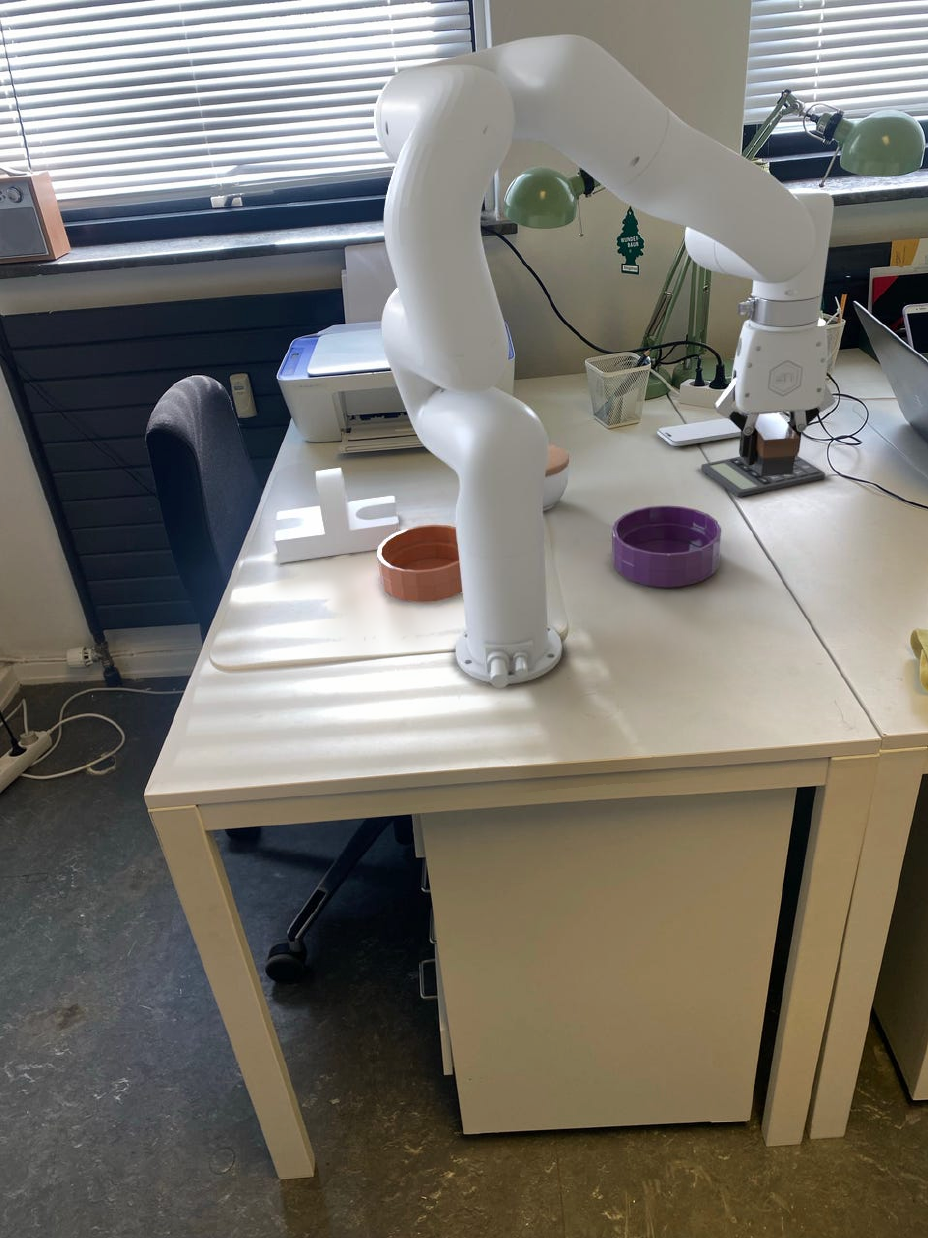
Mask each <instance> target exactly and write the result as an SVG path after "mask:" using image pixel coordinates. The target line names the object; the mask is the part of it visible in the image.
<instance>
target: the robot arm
mask: <svg viewBox="0 0 928 1238" xmlns="http://www.w3.org/2000/svg"><path fill="white" fill-rule="evenodd" d="M373 119H374V120H373V124H374V133H375V135H376V139H377V141H378V144H379V146H380V148H381V149H382V151H383V152H384V153H385V155H386V156H387V158H388V159H389V160H391V161H392V163H394V164H395V165H394V169H393V172H392V175H391V179H390V181H389V185H388V189H387V193H386V198H385V202H384V209H383V210H384V211H383V235H384V242H385V248H386V251H387V256H388V259H389V264H390V266H391V270H392V273H393V275H394V276H393V277H394V280H395V284H396V288H395V290H393V292H392V293H391V294H390V296H389V297H388V299H387V301H386V303H385V305H384V307H383V311H382V316H381V321H380V333H381V334H380V335H381V341H382V347H383V351H384V353H385V356H386V359H387V362H388V365H389V367H390V370H391V373H392V376H393V378H394V382H395V384H396V386H397V389H398V392H399V395H400V397H401V400H402V403H403V406H404V409H405V411H406V413H407V416H408V418H409V421H410V423H411V426H412V428H413V430H414V432H415V434H416V435H417V437H418V439H419V441H420V442H421V444H422V445H423V446H424V448H425V449H427V450H428V451H429V452H430V453H431V454H433V455H434V456H435V457H436V458H438V459H439V460H440V461H442V462H443V463H444V464H446V465H447V466H448V467H449V468H450V469H452V470H453V471H454V472H455V473H456V475H457V476H458V480H459V481H458V482H459V489H458V490H459V492H458V497H457V500H456V505H455V515H454V519H455V520H454V521H455V527H456V536H457V543H458V552H459V562H460V572H461V581H462V591H463V592H462V599H463V601H462V602H463V610H464V619H465V630H466V631H465V632H463V634H462V635H460V637H459V638H458V640H457V641H456V645H455V658H456V662H457V664H458V666H459V667H460V669H461V670H462V671H463V672H464V673H466V674H467V675H468V676H470V677H472V678H474V679H477V680H479V681H482V682H486V683H490V684H491V685H492V687H493V688H496V689H504V688H506V687H507V685H510V684H520V683H525V682H529V681H532V680H534V679H537V678H540V677H541V676H543V675H545V674H547V673H548V672H550V671H552V669H554V668H555V666H556V665H557V664H558V663H559V662H560V659H561V657H562V652H563V645H562V639H561V637H560V635H559V633H558V632H557V631H556V630H555V629H554V628H553V627H551V626H550V625H549V624H548V601H547V600H548V599H547V580H546V578H547V577H546V557H545V556H546V555H545V533H544V511H543V488H544V479H545V473H546V468H547V461H548V452H549V447H548V445H549V439H548V435H547V431H546V429H545V426H544V424H543V422H542V421H541V419H540V417H539V416H538V415H537V414H536V413H535V412H534V411H533V409H532V408H531V407H529V406H528V405H527V404H525V403H524V402H523V401H521V400H520V399H518V398H516V397H514V396H513V395H511V394H508V393H506V392H505V391H503V390H501V389H499V388H497V387H495V385H496V384H498V383H499V382H500V380H501V379H502V378H503V376H504V374H505V372H506V370H507V367H508V364H509V360H510V343H509V342H510V340H509V336H508V330H507V328H506V323H505V320H504V317H503V313H502V309H501V306H500V303H499V300H498V296H497V292H496V289H495V286H494V283H493V279H492V275H491V271H490V268H489V264H488V261H487V257H486V253H485V248H484V242H483V237H482V231H481V216H482V208H483V204H484V201H485V198H486V194H487V192H488V189H489V186H490V184H491V183H492V180H493V178H494V176H495V175H496V173H497V171H498V170H499V168H500V167H501V165H502V163H503V162H504V160H505V158H506V157H507V154H508V152H509V150H510V147H511V146H512V145H513V144H515V143H518V142H523V141H525V142H536V143H537V142H538V143H546V144H547V145H549V146H551V147H553V148H554V149H556V150H557V151H558V152H560V153H561V154H563V155H564V156H565V158H567V159H569V161H571V162H573V163H574V164H575V165H576V166H578V167H579V168H580V169H582V170H583V171H584V172H585V173H587V174H588V175H589V176H590V177H592V178H593V179H594V180H595V181H597V182H598V183H599V184H600V185H602V186H603V187H604V188H605V189H607V190H608V191H609V192H610V193H612V194H613V195H614V196H616V197H617V198H618V199H619V200H620V201H621V202H623V203H625V204H627V205H628V206H629V207H632V208H634V209H636V210H638V211H640V212H642V213H644V214H647V215H649V216H652V217H653V218H657V219H660V220H664V221H666V222H670V223H673V224H676V225H680V226H683V227H685V232H684V244H685V249H686V252H687V254H688V255H689V257H690V258H691V260H692V261H693V262H694V263H696V265H698V266H700V267H702V268H704V269H706V270H708V271H711V272H714V273H720V274H723V275H728V276H734V277H739V278H743V279H748V280H752V281H753V282H752V293H750V294H749V297H748V300H746V301H745V302H738V307H737V314H738V315H739V316H742V315H745V316H747V317H748V318H749V319H748V320H744V322H743V325H742V328H741V331H740V334H739V339H738V342H737V346H736V350H735V356H734V361H733V366H732V372H731V380H730V384H729V385H728V386H727V387H726V389H725V390H724V391H723V393H722V394H721V396H720V397H719V398H718V399H717V401H716V402H715V403H714V407H713V408H714V410H715V411H716V412H717V413H718V414H719V415H721V416H722V417H723V418H727V419H729V420H731V421H732V422H733V423H734V424H735V425H736V426H737V427H738V428H739V429H740V430H741V435H740V436H739V446H738V447H739V448H738V454H739V457H740V456H741V457H743V459H744V460H745V462H746V463H747V465H748V466H752V465H753V464H754V463H755V454H756V443H757V435H756V434H755V429H754V428H755V425H756V422H757V419H758V416H759V414H769V413H787V412H788V417H789V421H788V422H787V423H788V424H789V425H790V427H791V428H792V429H793V430H794V431H795V433H796V434H797V435H798V436H799V437H800V441H799V449H798V454H799V453H800V448H801V440H802V435H803V434H802V433H803V432H804V431H806V430H807V427H808V425H809V424H810V423H811V422H812V421H813V420H815V419H816V418H817V417H819V415H820V413H823V412H824V411H826V410H827V409H829V408H830V407H832V406H833V405H834V404H835V403H836V399H835V397H834V395H833V393H832V391H831V390H830V388H829V387H828V385H827V371H828V370H827V369H828V329H827V327H828V326H827V322H826V320H824V319H822V318H821V317H820V314H821V307H822V299H823V292H824V284H825V277H826V269H827V261H828V254H829V246H830V238H831V232H832V224H833V218H834V210H835V209H834V208H835V204H834V203H835V202H834V199H833V196H832V195H831V194H830V193H829V192H827V191H825V190H822V189H817V188H791V189H788V188H787V187H786V186H785V185H784V184H783V183H782V182H781V181H779V180H778V179H777V178H776V176H774V175H772V173H770V172H769V171H767V170H766V169H764V168H763V167H761V166H759V165H758V164H756V163H754V162H753V161H751V160H750V159H748V158H746V157H744V156H743V155H741V154H739V153H737V152H736V151H734V150H733V149H730V148H729V147H727V146H725V145H723V144H722V143H721V142H719V141H717V140H716V139H714V138H712V137H710V136H709V135H707V134H705V133H703V132H702V131H699V130H698V129H696V128H694V127H692V126H690V125H688V124H687V123H686V122H685V121H683V120H682V119H681V118H679V117H678V115H676V114H675V113H674V112H673V111H672V110H671V109H669V107H667V105H665V103H663V102H662V101H661V100H660V99H659V98H658V97H656V96H655V94H653V93H652V92H651V91H650V90H649V89H648V88H647V87H646V86H645V85H643V83H642V82H640V81H639V80H638V79H637V78H636V77H635V76H634V75H633V74H632V73H631V72H630V71H629V70H627V68H626V67H624V66H623V65H622V64H621V62H619V61H617V59H616V58H615V57H614V56H612V55H611V54H610V53H609V52H608V51H606V49H604V48H603V47H602V46H600V44H598V43H597V42H596V41H593V40H592V39H590V38H589V37H586V36H582V35H579V34H569V33H567V34H566V33H565V34H555V35H544V36H533V37H526V38H525V37H524V38H520V39H516V40H513V41H509V42H505V43H501V44H497V45H495V46H491V47H488V48H484V49H480V50H477V51H473V52H469V53H465V54H461V55H457V56H453V57H449V58H444V59H441V60H437V61H433V62H428V63H424V64H420V65H416V66H411V67H408V68H406V69H403V70H401V71H399V72H398V73H396V74H395V75H393V76H392V77H391V78H390V79H389V80H388V81H387V82H386V83H385V85H384V86H383V87H382V89H381V91H380V93H379V95H378V98H377V100H376V103H375V108H374V115H373ZM734 402H735V405H736V408H737V409H736V408H734V407H732V405H733V403H734ZM738 410H739V411H740V412H739V411H738ZM794 461H795V460H794Z"/></svg>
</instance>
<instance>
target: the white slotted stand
mask: <svg viewBox="0 0 928 1238" xmlns="http://www.w3.org/2000/svg"><path fill="white" fill-rule="evenodd" d="M343 473H344V472H343V470H342V467H337V468H329V469H323V470H316V471H315V481H316V482H315V483H316V491H317V499H318V505H316V506H309V507H302V508H294V509H286V510H279V511H277V512H276V524H277V528H278V529H277V530H275V534H274V543H275V548H276V552H277V557H278V560H279V564H283V563H284V564H285V563H291V562H299V561H305V560H312V559H313V560H314V559H318V558H326V557H333V556H334V557H335V556H340V555H347V554H357V553H362V552H363V553H364V552H369V551H370V552H371V551H378V547H379V546H380V545H381V543H382V542H383V541H384V540H385V539H387V538H388V537H390V536H391V535H393V534H395V533H397V532H400V531H401V528H400V520H399V516H398V511H397V505H396V497H395V495H387V496H381V497H372V498H366V499H359V500H351V501H348V495H347V490H346V483H345V477H344V474H343Z"/></svg>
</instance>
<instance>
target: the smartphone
mask: <svg viewBox="0 0 928 1238" xmlns="http://www.w3.org/2000/svg"><path fill="white" fill-rule="evenodd" d="M656 431H657V435H658V436H659V437H660V438H662V439H663V440H664V441H666V442H667V443H668V444H669V445H671V446H673V447H680V446H681V447H682V446H687V445H695V444H699V443H700V444H701V443H706V442H713V441H720V440H725V439H731V438H740V435H741V430H740V429H739V428H738V427H737V426H736V425H735V424H734V423H733V422H732V421H731V420H729V419H727V418H726V417H723V418H715V419H709V420H703V421H695V422H690V423H683V424H677V425H676V424H675V425H669V426H663V427H659V428H657V430H656Z"/></svg>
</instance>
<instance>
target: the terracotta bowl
mask: <svg viewBox="0 0 928 1238" xmlns="http://www.w3.org/2000/svg"><path fill="white" fill-rule="evenodd" d="M376 551H377V552H376V559H377V565H378V571H379V577H380V578H379V579H380V582H381V586H382V588H383V590H384V591H385V592H386V593H387V594H389V595H390V596H391V597H394V598H395V599H399V600H402V601H406V602H407V601H408V602H417V603H426V602H437V601H441V600H446V599H450V598H453V597H454V596H457V595H459V594H461V593H463V591H462V581H461V572H460V562H459V552H458V543H457V536H456V526H451V525H446V524H445V525H444V524H427V525H425V524H424V525H417V526H413V527H409V528H406V529H403V530H400V532H397V533H395V534H393V535H391V536H390V537H388V538H387V539H385V540H384V541H383V542H382V543H381V545H380V546H379V547H378V550H376Z"/></svg>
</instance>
